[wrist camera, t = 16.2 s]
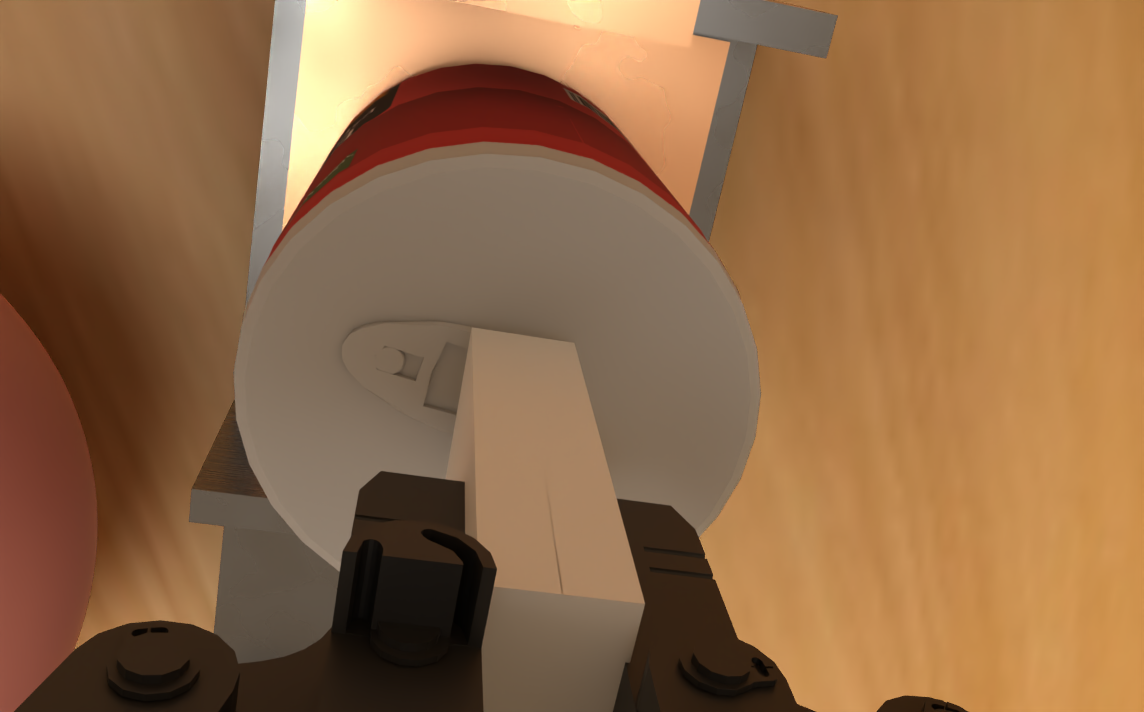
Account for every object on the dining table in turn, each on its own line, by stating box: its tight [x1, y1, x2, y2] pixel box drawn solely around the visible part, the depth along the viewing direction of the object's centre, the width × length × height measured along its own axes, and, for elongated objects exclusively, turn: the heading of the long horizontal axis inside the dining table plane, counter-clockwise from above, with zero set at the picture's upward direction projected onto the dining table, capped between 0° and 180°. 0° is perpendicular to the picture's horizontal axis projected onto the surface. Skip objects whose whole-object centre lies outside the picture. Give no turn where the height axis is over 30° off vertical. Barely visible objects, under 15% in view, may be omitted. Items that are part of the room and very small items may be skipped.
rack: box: [189, 0, 838, 664], centre depth 26 cm, size 25×11×8 cm, turn 169°
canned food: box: [233, 64, 761, 572], centre depth 21 cm, size 8×8×11 cm
